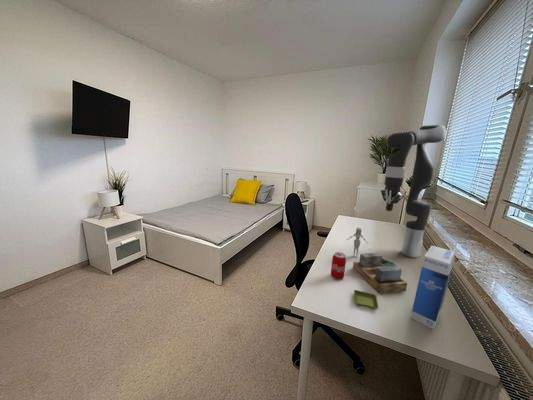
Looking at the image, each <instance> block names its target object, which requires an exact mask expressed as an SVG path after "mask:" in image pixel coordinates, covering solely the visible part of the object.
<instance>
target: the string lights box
mask: <svg viewBox="0 0 533 400" xmlns="http://www.w3.org/2000/svg"><path fill="white" fill-rule="evenodd" d="M455 255H456V251H454V250H450V249H446V248H443V247H439V246H435V245H431V246H430V248H428V250H427V251H426V252H425V254H424V256H423V261H422V266H421V270H420V273H419V278H418V282H417V286H416V292H415V297H414V300H413V305H412V309H411V313H410V319H412V320H414V321H415V322H418V323H419V324H421V325H424V326H426V327H428V328H430V329H432V330H435V327H436V325H437V322H438V320H439V318H440V315H441V312H442V310H443V309H442V308H443V304H444V301H445V297H446V292H447V289H448V284H449V280H450V278H451V274H452V273H451V272H452V268H453V265H454V261H455Z"/></svg>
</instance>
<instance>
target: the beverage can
mask: <svg viewBox="0 0 533 400" xmlns="http://www.w3.org/2000/svg"><path fill="white" fill-rule="evenodd" d="M346 264H347V256H346V255H345V253H342V252H334V253H333V255H332V261H331V269H330V276H331V277H332V278H333V279H334V280H336V281H337V280H339V281H340V280H343V279H344V278H345V272H346Z"/></svg>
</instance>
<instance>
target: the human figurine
mask: <svg viewBox="0 0 533 400" xmlns="http://www.w3.org/2000/svg"><path fill="white" fill-rule="evenodd" d="M362 230H363V229H362V228H361V227H356V231H355V233H354V234H353V235H352V236H350V237H349V238H347V239H346V241H348V240H350V239H352V238H354V237H355V239H354V240H353V247H354V248H353V256H352V257H353V259H358V255H359V248H360V245H361V240H360V239H361V238H362V239H363V241H365V242H366V244H369V242H368V241H367V240H366V238H364V237H363V234H362ZM355 254H356V255H355Z"/></svg>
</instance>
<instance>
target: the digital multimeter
mask: <svg viewBox="0 0 533 400" xmlns="http://www.w3.org/2000/svg"><path fill="white" fill-rule="evenodd" d="M381 263H382V264H383V265H384V266H396V264H395V263H394V262H391V261H389V260H387V259H385V258H383V257H382V261H381Z"/></svg>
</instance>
